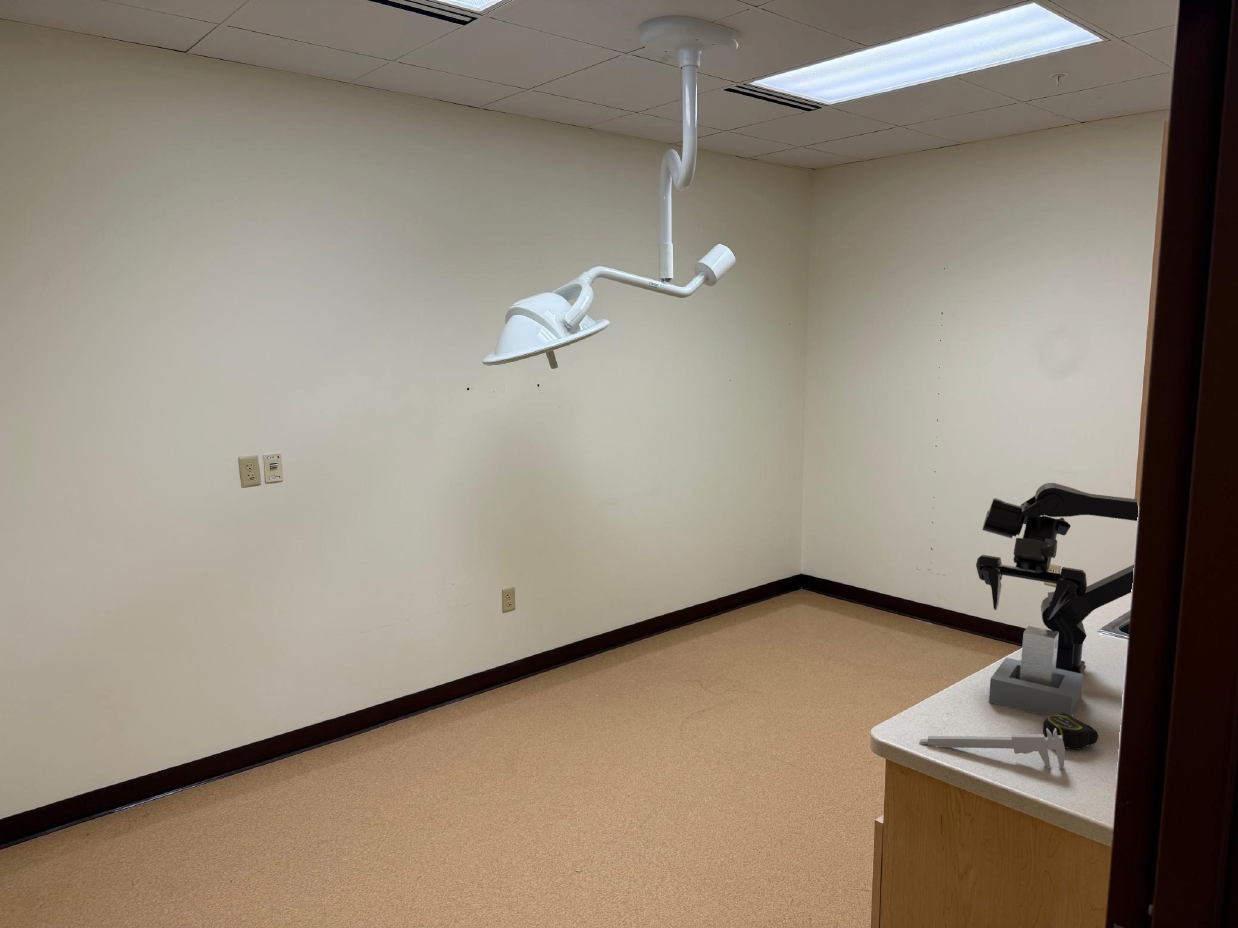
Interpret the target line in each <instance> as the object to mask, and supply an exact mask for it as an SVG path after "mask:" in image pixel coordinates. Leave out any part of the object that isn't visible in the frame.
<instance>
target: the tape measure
mask: <svg viewBox="0 0 1238 928" xmlns="http://www.w3.org/2000/svg"><path fill="white" fill-rule="evenodd" d="M1042 725H1043V726H1042V733H1043V735H1044V736H1045V737H1047V736H1048V735H1047V730H1046V728H1048V730H1049V731H1050V732H1051V734H1052V737H1053V731H1054V729H1055V728H1056V731H1057V735H1062V739H1063V743H1064V747H1065V749H1071V750H1072V749H1073V750H1081V749H1084V748H1087V747H1089V746H1093V745H1095V744H1097V742H1098V739H1099V733H1098V731H1097V730H1096V729H1094V728H1093V727H1092V726H1090V725H1088V724H1086V723H1085V722H1083V721H1081V720H1079V719H1077V718H1075V717H1073V716H1072V717H1071V716H1069V715H1068V714H1065V713H1062V714H1060V715H1055V714H1053V715H1049V716H1048V717H1047V716H1046V718H1045V719H1043V722H1042Z"/></svg>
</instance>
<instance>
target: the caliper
mask: <svg viewBox="0 0 1238 928" xmlns="http://www.w3.org/2000/svg"><path fill="white" fill-rule="evenodd" d="M1046 730H1047V735H1048V736H1047V737H1045V736H1044V733H1043V734H1040V733H1038V734H1036V733H1033V734H1032V733H1030V734H1029V733H1028V734H1026V733H1025V734H1023V733H1021V734H1019V733H1018V734H1017V733H1016V734H1013V733H1012V734H1011V736H968V735H967V736H965V735H964V736H963V735H960V736H958V735H927V738H921V739H919V744H920V743H922V744H921V745H927V746H929V745H931V746H930V747H934V746H937V747H936V748H949V749H950V748H953V749H954V748H957V749H958V748H959V749H960V748H961V749H962V748H963V749H965V748H966V749H972V748H973V749H1010V750H1012V749H1013V751H1014V754H1017V755H1018V754H1024V755H1025V754H1027V755H1028V754H1031V753H1033V752H1038V754H1039V755H1040V757H1041V759H1042V762H1043V763H1044V765H1045V767H1046V768H1048V769H1049V768H1051V764H1050V763H1051V762H1050V761H1051V760H1050V755H1049V752H1048V750H1055V752H1056V756H1057V761H1058V766H1059V769H1060V770H1063V769H1064V767H1065V757H1066V748H1065V747H1064V743H1063V739H1062V735H1057V731H1056V728H1055V729H1054V731H1053V737H1052V734H1051V732H1050V731H1049V730H1048V728H1046Z"/></svg>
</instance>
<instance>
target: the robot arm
mask: <svg viewBox="0 0 1238 928" xmlns="http://www.w3.org/2000/svg"><path fill="white" fill-rule="evenodd" d="M1077 516H1093V517H1095V516H1096V517H1101V518H1102V517H1104V518H1109V519H1110V518H1111V519H1119V520H1125V521H1134V522H1138V521H1137V517H1138V506H1137V499H1136V498H1128V497H1122V496H1121V497H1120V496H1113V495H1112V496H1111V495H1103V494H1095V493H1089V492H1084V491H1082V490H1079V489H1076V488H1073V487H1070V486H1066V485H1062V484H1060V483H1055V482H1046V483H1044V484H1042V485H1041V486H1039V487H1038V489H1037V490H1036V491H1035V494H1034V496H1032V497H1030V498H1028V500H1025V501H1024V502H1023V503H1021V504H1020V505H1017V504H1013V503H1011V502H1006V501H1004V500H1002V499H999V498H996V497H995V498H992V502H991V504H990V506H989V509H988V510H987V512H986V516H985V518H984V522H983V525H982V531H984V532H988V533H992V534H994V535H998V536H1002V537H1005V538H1008V539H1012V538H1013V537H1016V536H1020V534H1021V531H1022V529H1023V526H1024V525H1025V528H1024V532H1023V535H1022V537H1016V538H1015V541H1014V550H1013V555H1014V556H1013V563H1014V564H1015V566H1012V565H1006V564H1002V558H1001V557H999V556H992V555H985V554H981V555H979V557H977V560H976V564H975V567H976V572H977V575H978V578H979V579H980V580H981V581H984V583H985V585H989V586H990V588H991V597H992V607H993V610H995V611H997V609H998V607H999V602H1000V598H1001V597H1000V596H1001V592H1002V578H1003V576H1007V577H1014V578H1021V579H1026V580H1031V581H1036V582H1042V583H1048V584H1056V585H1055V589H1054V591H1050V592H1047V596H1046V597H1044V599H1043V600H1042V602H1041V604H1040V612H1041V619H1042V622H1043V625H1044V626H1045V627H1046V628H1047V630H1051V631H1057V632H1059V636H1058V647H1057V658H1056V668H1057V669H1062V670H1066V671H1071V672H1076V673H1080V674H1082V671H1083V669H1084V667H1085V666H1086V665H1085V664H1086V661H1084V660H1082V655H1083V648H1084V647H1083V645H1084V644H1083V643H1084V642H1085V639H1086V638H1087V633H1086V630H1085V627H1084V623H1083V621H1084V620H1085V619H1086V618H1087V617H1088V616H1089V615H1090V614H1091V613H1092V612H1094V611H1095V610H1097V609H1099V608H1100V607H1103V606H1105V605H1108V604H1109V603H1111V602H1114V601H1116V600H1118V599H1120V598H1123V597H1125V596H1127V595H1130V594H1131V593H1132V592H1131V589H1132V583H1133V568H1134V564H1132V565H1130V566H1127V567H1125V568H1123V569H1121V570H1118V571H1117V572H1114V573H1113V574H1111V575H1108V576H1107V577H1104V578H1102V579H1100V580H1098V581H1096V582H1094V583H1092V584H1089V585H1088V583H1087V574H1086V572H1085V571H1084V569H1078V568H1072V567H1065V566H1063V567H1061V569H1060V570H1061V571H1060V573H1057V572H1051V571H1049V570H1050V566H1051V561H1052V559H1055V558H1056V556H1057V549H1058V540H1057V536H1058V535H1060V536H1066V535H1067V534H1068V532H1069V530H1070V528H1071V524H1070V523H1069V522H1068V521H1067V520H1066V519H1065V518H1067V517H1069V518H1070V517H1077Z"/></svg>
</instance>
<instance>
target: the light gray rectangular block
mask: <svg viewBox="0 0 1238 928" xmlns="http://www.w3.org/2000/svg"><path fill="white" fill-rule="evenodd" d="M1058 636H1059V632H1057V631H1052V630H1050V629H1046V628H1041V627H1035V626H1030V625H1028V626H1027V627H1026V628H1025V630H1024V631H1023V636H1022V644H1021V645H1022V650H1021V657H1020V658H1021V660H1020V661H1021V670H1020V680H1023V681H1028V682H1032V683H1037V684H1041V685H1045V686H1050V687H1054V681H1055V670H1056V658H1057V647H1058Z"/></svg>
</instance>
